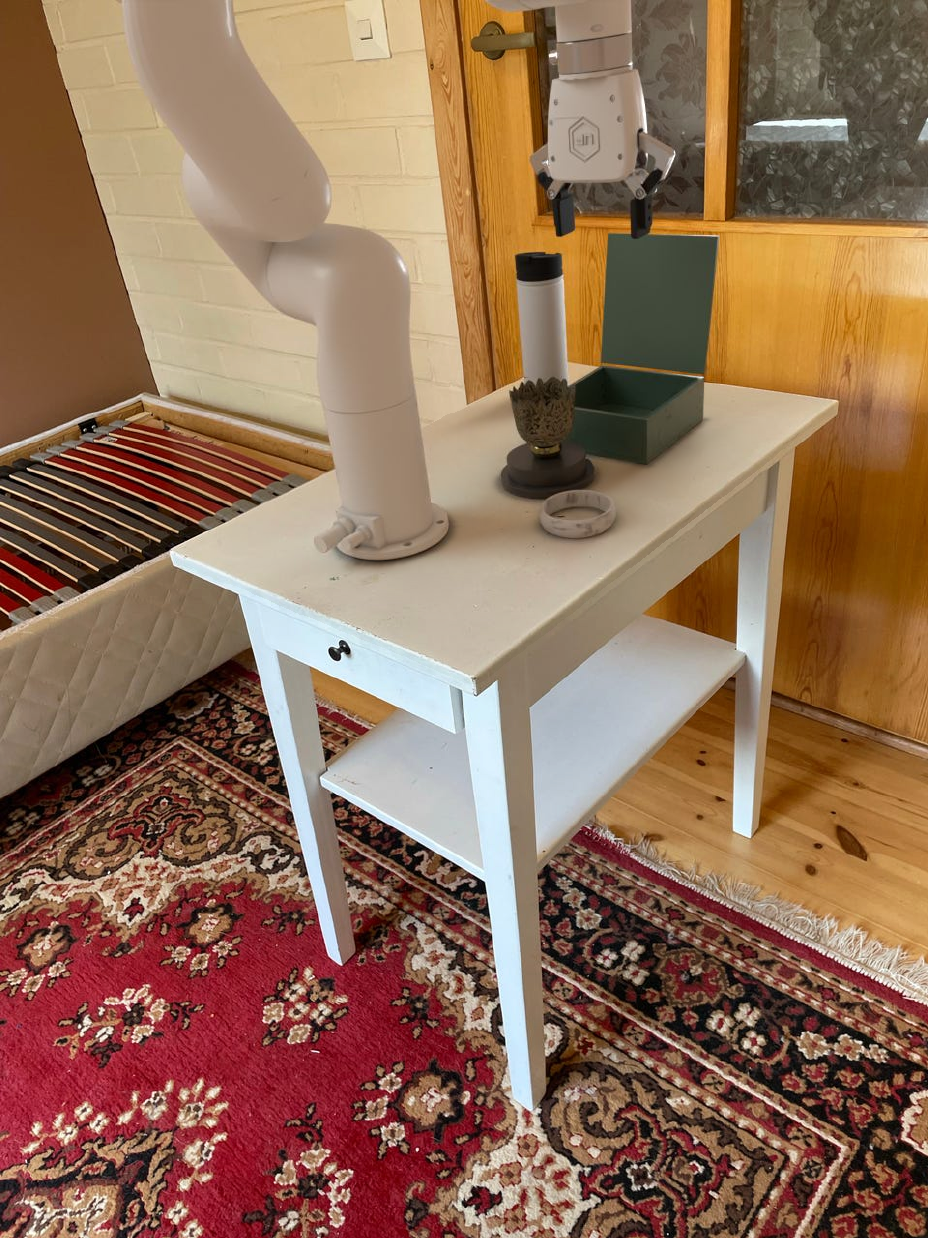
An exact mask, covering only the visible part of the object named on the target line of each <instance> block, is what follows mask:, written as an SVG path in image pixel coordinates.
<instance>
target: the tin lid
mask: <svg viewBox="0 0 928 1238" xmlns="http://www.w3.org/2000/svg"><path fill="white" fill-rule="evenodd" d="M719 245H720V235H701V234H699V235H698V234H697V235H696V234H661V233H660V234H659V233H648V234H647V235H645V236H643V237H641V238H639V239H633V238H632V237H631V233H626V232H625V233H623V232H622V233H621V232H608V233H607V245H606V262H605V263H606V265H605V281H604V283H605V284H604V300H603V314H602V315H603V317H602V332H601V333H602V334H601V335H602V337H601V351H600V353H601V354H600V363H601V364H608V365H609V364H610V365H615V366H616V365H618V366H624V367H625V366H626V367H633V368H635V367H636V368H644V369H650V370H651V369H652V370H660V371H671V372H678V373H686V374H696V375H706V371H707V362H708V353H709V352H708V351H709V342H710V333H711V323H712V313H713V303H714V293H715V286H716V285H715V282H716V274H717V266H718V265H717V264H718V255H719Z"/></svg>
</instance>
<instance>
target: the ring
mask: <svg viewBox="0 0 928 1238" xmlns="http://www.w3.org/2000/svg"><path fill="white" fill-rule="evenodd" d="M544 500H545V501H543V502H542V504H541V506H540V509H539V514H538V515H539V516H538V517H539V522H540V524H541V525H542V527H543V529H544V530H545V531H547V532H548V533H550V534H551V535H554V536H557V537H560V538H569V539H579V538H587V537H592V536H596V535H599V534H601V533H603V532H605V531H606V530H608V529H609V528H610V527H611V526H612V525H613V523H614V521H615V519H616V515H617V514H616V513H617V511H616V510H617V509H616V505H615V503H614V501H613V500H612V498H610V496H608V495H607V494H605V493H602V492H600V491H596V490H590V489H582V490H572V491H566V492H561V493H558V494H555V495H553V496H551V497H549V498H547V499H544ZM577 507H583V508H585V507H587V508H594V509H598V510H601V511H604V512H603V513H601V514H600V515H597V516H594V517H591V518H586V519H578V520H576V519H575V520H573V519H572V520H571V519H570V520H568V519H560V518H556V517H553V516H551V515H552V514H554V513H556V512H558V511H562V510H564V509H569V508H577Z"/></svg>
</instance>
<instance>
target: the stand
mask: <svg viewBox="0 0 928 1238" xmlns="http://www.w3.org/2000/svg"><path fill="white" fill-rule="evenodd" d="M561 444H562V450H561V452H560V454H559V455H557V456H555V457H553V458H547V459H542V458H537V457H535V456H534V455H533V454H532V453H531V450H530V447H531V445H530V444H528V443H526V442H525V443H522V444H520V445H517V446H516V447H514V448H513V449H511V450H510V451H509V452H508V453H507V455H506V464H505V466H503V467H502V469H501V471H500V475H499V477H500V484H501V486H502V488H503V489H504V491H506V492H508V493H509V494H512V495H514V496H517V497H520V498H525V499H533V500H535V499H536V500H547V499H548V498H549V497H551V496H553V495H555V494H558V493H561V492H566V491H572V490H585V489H586V488H587V487H589V486H590V485H591V484H592V483H593V481H594V479H595V476H596V475H595V465H594V463H593V462H592V461H591V460H590V459H588V458H587V454H586V451H585V449H584V448H583V447H582V446H581V445H580V444H578V443H575V442H572V441H567V440H564V441H562V442H561Z"/></svg>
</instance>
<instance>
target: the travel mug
mask: <svg viewBox="0 0 928 1238" xmlns="http://www.w3.org/2000/svg"><path fill="white" fill-rule="evenodd" d="M514 262H515V271H516V273H515V274H516V277H515V280H516V281H515V282H516V293H517V295H516V296H517V305H518V306H517V307H518V320H519V321H518V322H519V333H520V334H519V335H520V346H521V358H522V359H521V360H522V371H523V374H522V375H523V383H524V384H525V383H526V382H527V381H528V380H530V381H532V382H533V383H534V384H535V385H536V383H537V380H538V378H540V379H542V381H543V383H544V382H547V381H548V380H549V379H550V378H551V377H555V378H557V379H559V380H560V382H561V381H562V380H563V379H566V380H567V385H568V386H569V385H570V384H569V381H570V380H569V364H568V363H569V361H568V342H567V341H568V339H567V324H566V323H567V322H566V302H565V299H566V298H565V281H564V272H563V254H562V253H560V252H555V253H547V252H546V251H530V252H522V253H520V252H519V253H516V254H515V255H514ZM544 384H545V383H544ZM535 387H536V386H535Z"/></svg>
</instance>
